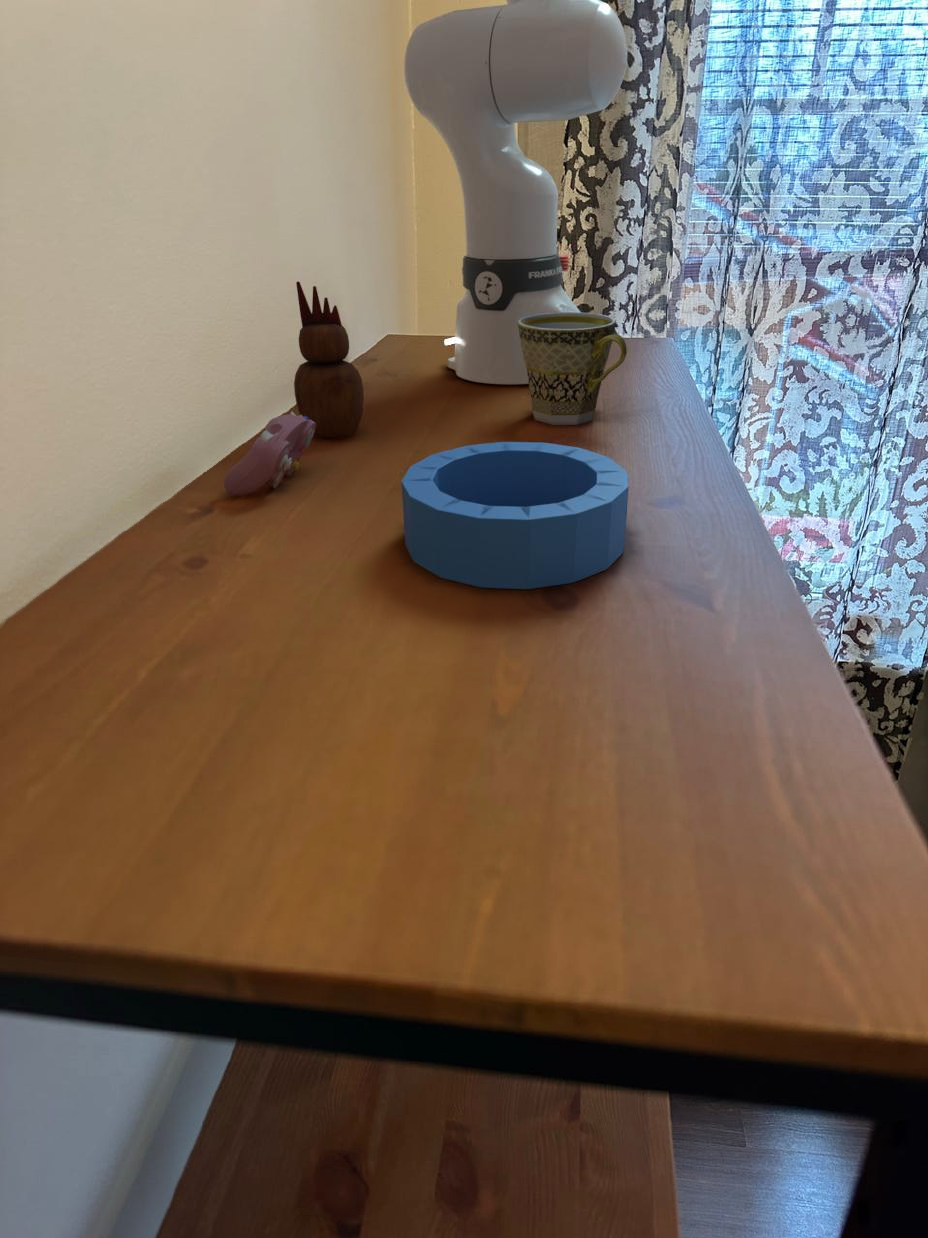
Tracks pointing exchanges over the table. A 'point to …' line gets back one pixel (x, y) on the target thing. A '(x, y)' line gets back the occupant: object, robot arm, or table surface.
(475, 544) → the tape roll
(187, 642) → the table surface
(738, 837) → the table surface
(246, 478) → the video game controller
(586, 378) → the ceramic cup
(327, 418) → the wooden figurine
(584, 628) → the table surface
